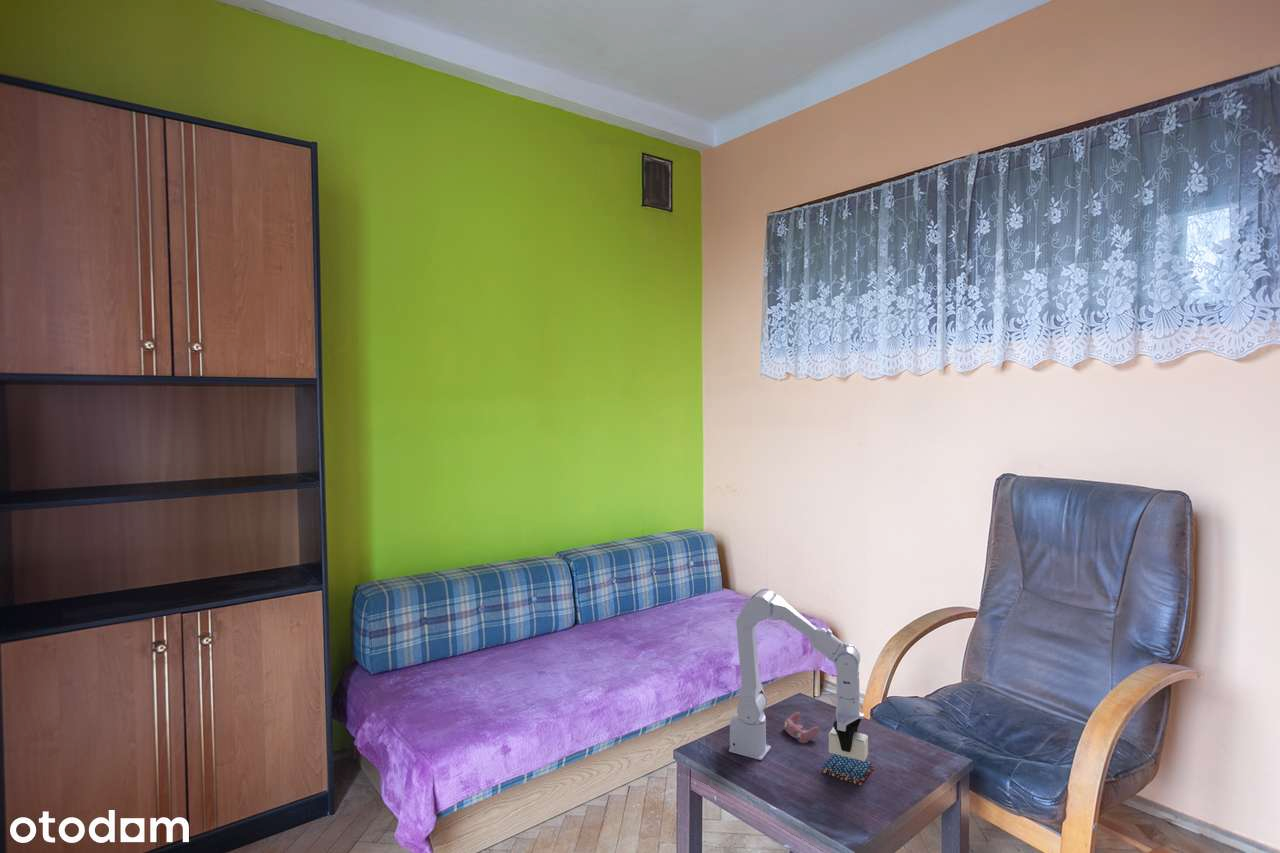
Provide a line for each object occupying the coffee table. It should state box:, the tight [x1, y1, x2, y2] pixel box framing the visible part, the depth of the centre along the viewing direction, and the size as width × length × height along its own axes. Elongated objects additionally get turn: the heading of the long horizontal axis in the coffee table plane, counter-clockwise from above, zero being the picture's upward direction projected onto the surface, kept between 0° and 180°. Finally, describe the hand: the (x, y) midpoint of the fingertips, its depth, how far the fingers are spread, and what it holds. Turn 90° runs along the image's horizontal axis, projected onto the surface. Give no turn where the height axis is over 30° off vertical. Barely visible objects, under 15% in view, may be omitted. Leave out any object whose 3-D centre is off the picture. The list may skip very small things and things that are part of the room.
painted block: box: [828, 726, 869, 761], centre depth 172 cm, size 4×9×5 cm, turn 59°
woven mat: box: [821, 754, 874, 786], centre depth 172 cm, size 10×11×2 cm
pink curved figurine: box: [783, 711, 820, 744], centre depth 191 cm, size 10×5×7 cm
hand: (848, 747), depth 172 cm, fingers closed on painted block, 4 cm apart
